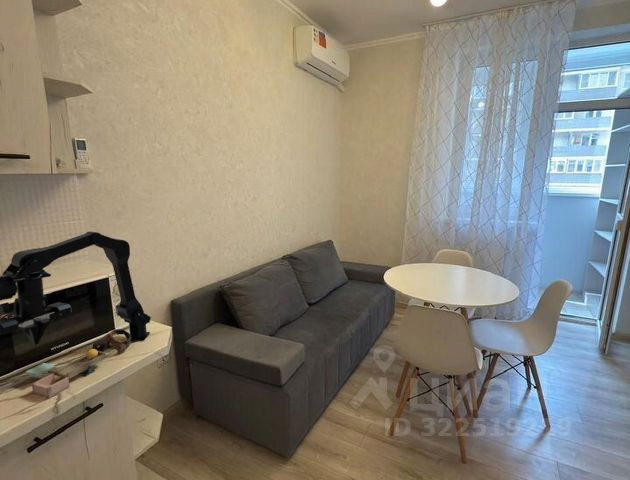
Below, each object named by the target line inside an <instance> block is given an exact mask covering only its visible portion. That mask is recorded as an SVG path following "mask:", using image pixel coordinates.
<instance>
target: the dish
mask: <svg viewBox="0 0 630 480" xmlns="http://www.w3.org/2000/svg"><path fill="white" fill-rule="evenodd" d="M55 376H56V375H54V374H48V375H47V376H45V377H43V378H41V379H39V380H37V381H35V382H33V383H31V386H32V394H34V395H37V396H40V397H44V398H47V399H50V398H51V399H52V398H53V397H54V396H56V395H58V394H60V393H62V392H64V391H65V390H67V389H69V388H70V387H71V386H70V379H69V378H68V377H66V378H63V379H61V380H59V381H56V377H55Z"/></svg>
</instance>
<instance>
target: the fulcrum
mask: <svg viewBox="0 0 630 480" xmlns="http://www.w3.org/2000/svg"><path fill="white" fill-rule="evenodd" d="M93 373H96V370H95V369H93V367H92V368H88V369H86V370H84V371H82V372H81V373H79V374H78V375H79V376H83V377H88V376H89V375H91V374H93Z"/></svg>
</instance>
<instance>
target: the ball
mask: <svg viewBox="0 0 630 480" xmlns="http://www.w3.org/2000/svg"><path fill="white" fill-rule="evenodd" d="M86 355H87V357H88V358H89V359H94V358H96V357H97V355H98V351H97V350H95V349H93V348H91V349H90V350H88V351H87V352H86Z"/></svg>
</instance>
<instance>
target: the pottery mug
mask: <svg viewBox="0 0 630 480" xmlns="http://www.w3.org/2000/svg"><path fill="white" fill-rule="evenodd" d="M114 334H116V335H124V336H125V340H124V343H123V341H122V340H119V339H117V338H116V337H114V336H113V335H114ZM127 338H128V340H127ZM130 340H131V335H130V332H128V331H127V330H124V329H120V328H118V329H113V330H111V331H110V332H109V333H107V334H105V335H104V336H103V337H102V339H98V340H96V341H94V342H93V343H92V346H91V347H92V348H91V349H95V350H97V351H101V352H104V353H105V349H106V348H107V347H110V346H111V345H113V346H116V347H118V348H119V347H120V348H119V354H123V353H125V351H126V350H127V349H128V348H129V347H130V346H131V342H132V341H130Z"/></svg>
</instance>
